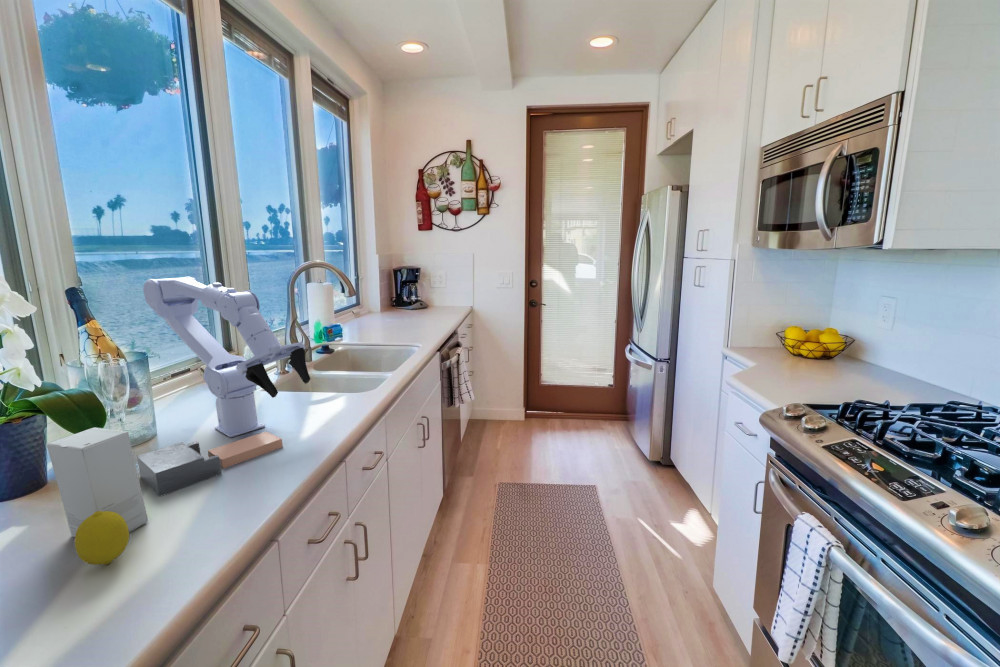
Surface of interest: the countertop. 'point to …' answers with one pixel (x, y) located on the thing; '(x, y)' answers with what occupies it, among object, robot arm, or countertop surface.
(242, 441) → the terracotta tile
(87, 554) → the lemon
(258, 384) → the robot arm
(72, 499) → the skincare box
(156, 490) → the low gray notched block
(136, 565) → the countertop surface
